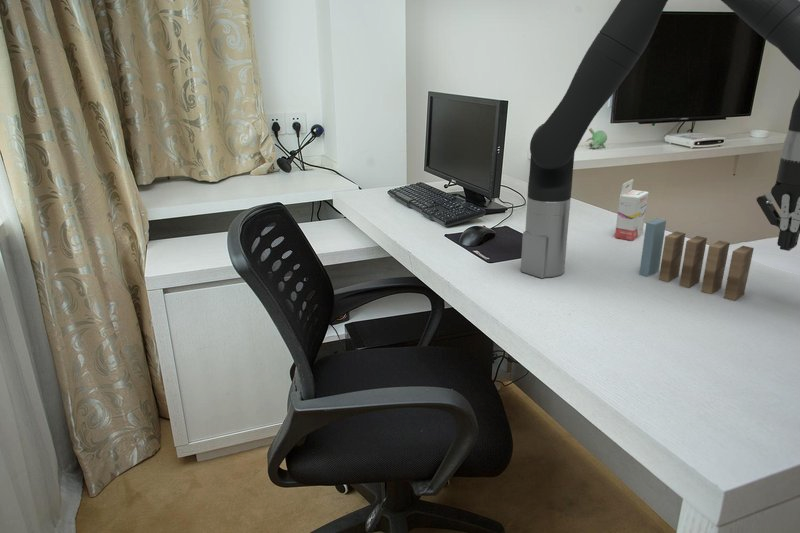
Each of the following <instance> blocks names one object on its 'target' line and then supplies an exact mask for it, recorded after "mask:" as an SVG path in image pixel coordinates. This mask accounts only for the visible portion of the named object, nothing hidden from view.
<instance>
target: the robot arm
mask: <svg viewBox="0 0 800 533" xmlns="http://www.w3.org/2000/svg"><path fill="white" fill-rule="evenodd" d="M720 1H721V2H722V3H724V5H726V6H727V8H729V9H730V10H732V12H734V13H735V15H736V16H738V17H739V18H740V19H741V20H742V21H744V22H745V23H746V24H747V25H748V26H749V27H750V28H751V29H752V30H753V31H755V32H756V33H757V34H758V35H759V36H761V37H762V38H763V39H764V40H766V41H767V43H769V44H771V45H772V46H774V47H775V48H777V49H778V50H779V52H781V53H782V54H783V55H784V56H785V58H786V59H787V60H788V61H789V62H790V63H791V64H792V65H793V66H794V67H795V68H796V69H797V70H798V71H800V0H720ZM668 2H669V0H620V1H619V2H618V3H617V5H616V7H615V8H614V9H613V11H612V13H611V14H610V16H609V17H608V19H607V20H606V22H605V23H604V25H603V26H602V28H601V29H600V30H599V32H598V33H597V35H596V36H595V38H594V40H593V41H592V43H591V44H590V46H589V47H588V49H587V51H586V52H585V54H584V56H583V57H582V60H581V61H580V63H579V65H578V66H577V67H578V68H577V69H576V71H575V73H574V75H573V77H572V79H571V82H570V83H569V86H568V88H567V90H566V92H565V94H564V96H563V97H562V99H561V100H560V101H559V103H558V105H557V106H556V107H555V109H554V110H553V112H552V113H551V114H550V116H548V117H547V119H546V121H544V123H542V124H540V125H539V126H538V127H537V128H536V130H535V131H534V132H533V134H532V136H531V140H530V142H529V150H530V161H529V164H530V165H529V173H528V174H529V175H528V183H527V196H526V197H527V199H526V211H525V212H526V213H525V214H526V215H525V228H524V230H525V231H523V233H522V239H521V240H522V242H521V244H522V245H521V258H520V272H521V273H522V272H523V273H524V274H529V275H531V276H534V277H538V278H540V279H544V278H553V277H555V278H556V277H559V276H561V275H563V274H564V273H565V265H566V257H567V256H566V254H567V245H568V243H567V242H568V235H569V234H568V232H569V223H570V222H569V221H570V220H569V219H570V212H571V211H570V210H571V200H572V199H571V198H572V190H573V189H572V188H573V174H574V161H575V152H576V150H577V148H578V146H579V144H580V142H581V141H582V139H583V137H584V135H585V133H586V132H587V130H588V128H589V127H590V125H591V123H592V121H593V120H594V118H595V117H596V116H597V114H598V113H599V111H600V110H601V109H602V108H603V107H604V106H605V104H606V103H607V102H608V101H609V100H610V98H611V97H612V96H613V94H615V92H616V91H617V90H618V88H619V87H620V86H621V84H623V81H624V80H625V79H626V77H627V76H628V75H629V74H630V72H631V71H632V69H633V68H634V67H635V65H636V63H637V62H638V60H639V59H640V58H641V56H642V55H643V53H644V51H645V50H646V48H647V46H648V45H649V43H650V41H651V39H652V37H653V34H654V32H655V30H656V28H657V26H658V23H659V21H660V18H661V15H662V13H663V11H664V9H665V8H666V5H667V3H668ZM781 150H782V151H781V155H780V160H779V165H778V170H777V174H776V178H775V184H774V185H773V186H772V187H771V189H770V192H767V193H766V194H761V195H759V196H758V197H757V198H756V202H757V204H758V205H759V206H758V207H760V209H761V210H762V212H763V214H764V216H765V218H766V219H767V220H768V222H769V224H770V225H772V226H776V227H777V228H778V229H779V231H778V232H779V233H778V234H779V235H778V238H777V244H776V245H777V247H778V246H779V249H780V250H782V251H787V252H788V251H789V252H790V251H791V250H792V249H794V248H796V247H797V246H798V242H799V238H800V90H799V93H798V96H797V98H796V99H795V101H794V104H793V106H792V109H791V115H790V119H789V125H788V129H787V132H786V136H785V139H784V141H783V145H782V149H781ZM774 202H775V203H776V204H777V206H778V208H779V209H780V213H779V212H778V210H777V209H776V207H775V205H774Z"/></svg>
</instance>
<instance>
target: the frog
mask: <svg viewBox="0 0 800 533" xmlns="http://www.w3.org/2000/svg"><path fill="white" fill-rule="evenodd" d="M588 131H589V133H591V135H592V137H590V138H588V139H587V140H586V141H585V142H586V143H587V142H588V145H589V147H590V148H591V149H592V150H594V149H595V150H596V149H597V148H598V147H599V146H601V147H602V148H603V149H606V147H607V146H606V145H605V143H606V142H607V141H608V135H607V133H606V131H603V130H597V131H596V132H595V131H594V130H593V129H592V128H591V127H590V128H589V129H588ZM589 141H590V142H589Z"/></svg>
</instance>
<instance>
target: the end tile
mask: <svg viewBox="0 0 800 533" xmlns="http://www.w3.org/2000/svg"><path fill="white" fill-rule="evenodd" d="M666 225H667V220H666V219H663V218H659V217H658V218H655V219H652V220H650V221H647V222H646V223H645V230H644V236H643V237H644V238H643V245H642V252H641V260H640V264H639V273H638V274H639V275H640V276H643V277H650V276H652V275H654V274H656V273H658V272H660V267H661V261H662V254H663V247H664V240H665V231H666Z"/></svg>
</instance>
